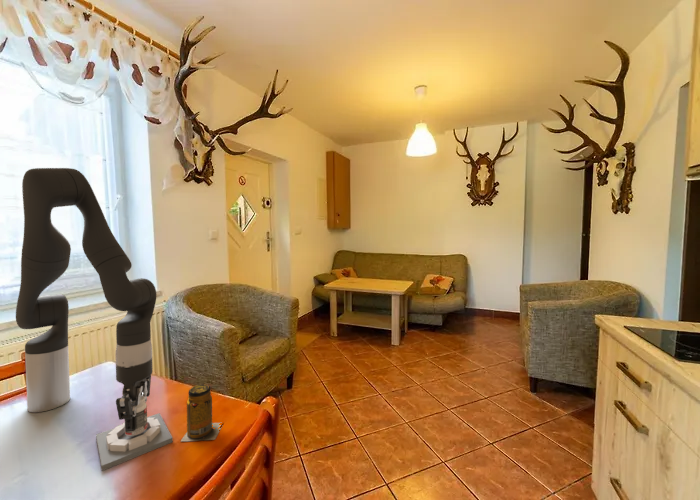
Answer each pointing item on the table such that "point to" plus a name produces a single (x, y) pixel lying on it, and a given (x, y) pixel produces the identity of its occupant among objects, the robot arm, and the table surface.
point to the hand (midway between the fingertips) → (135, 423)
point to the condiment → (200, 415)
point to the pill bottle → (140, 418)
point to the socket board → (133, 453)
